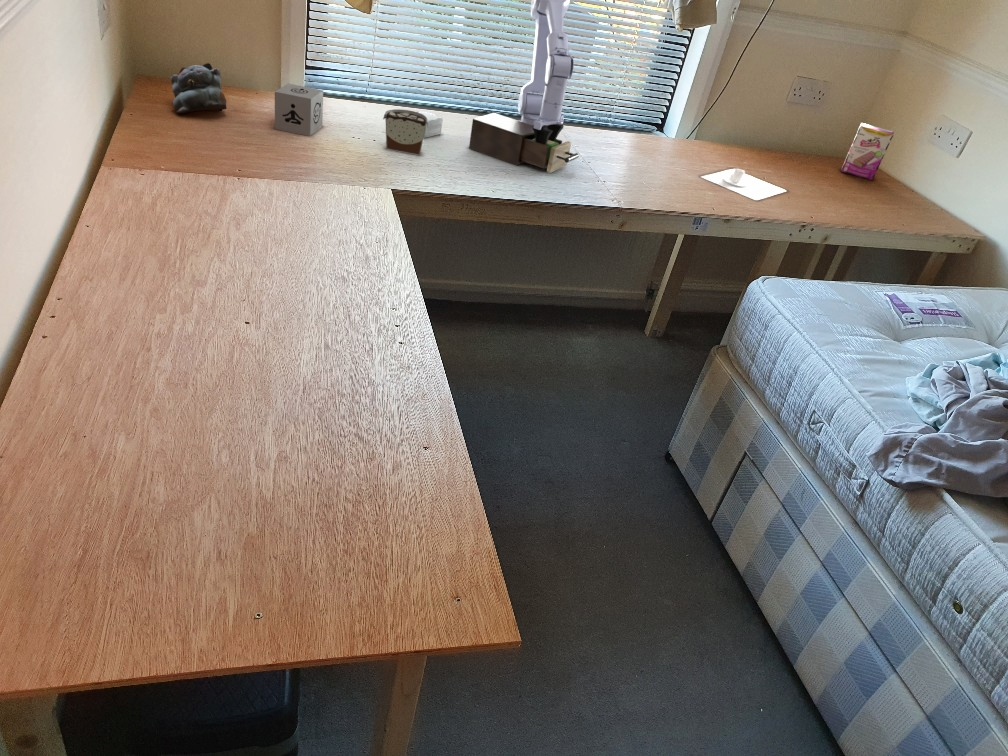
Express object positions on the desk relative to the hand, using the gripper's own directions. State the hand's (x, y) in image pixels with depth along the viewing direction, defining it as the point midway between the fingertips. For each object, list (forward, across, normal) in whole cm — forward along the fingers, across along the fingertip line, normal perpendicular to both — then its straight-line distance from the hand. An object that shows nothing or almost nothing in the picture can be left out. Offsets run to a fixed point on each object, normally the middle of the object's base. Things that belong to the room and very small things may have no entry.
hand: (543, 150), depth 217 cm
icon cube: (+5, -35, +59) cm, 69 cm away
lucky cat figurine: (+5, -49, +83) cm, 97 cm away
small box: (+5, -6, +37) cm, 38 cm away
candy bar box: (+5, +97, -76) cm, 123 cm away
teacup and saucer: (+5, +45, -49) cm, 66 cm away
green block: (+1, 0, 0) cm, 1 cm away
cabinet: (+5, 0, +13) cm, 14 cm away
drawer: (+4, 0, 0) cm, 4 cm away
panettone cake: (+5, -23, +31) cm, 39 cm away
